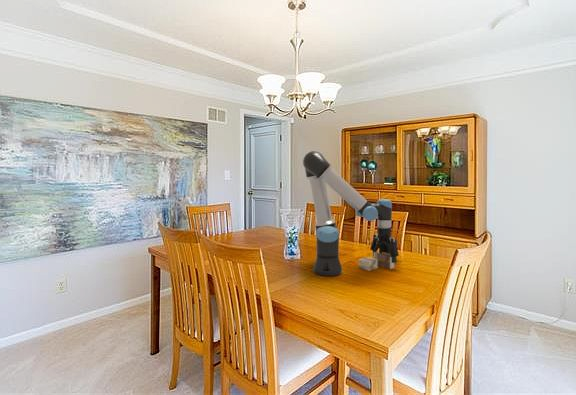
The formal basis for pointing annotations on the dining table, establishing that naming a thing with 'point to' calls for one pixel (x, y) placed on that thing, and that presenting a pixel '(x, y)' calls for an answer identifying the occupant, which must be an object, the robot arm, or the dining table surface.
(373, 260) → the pale grey block
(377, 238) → the robot arm
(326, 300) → the dining table surface
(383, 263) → the walnut block
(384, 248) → the mug
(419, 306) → the dining table surface
